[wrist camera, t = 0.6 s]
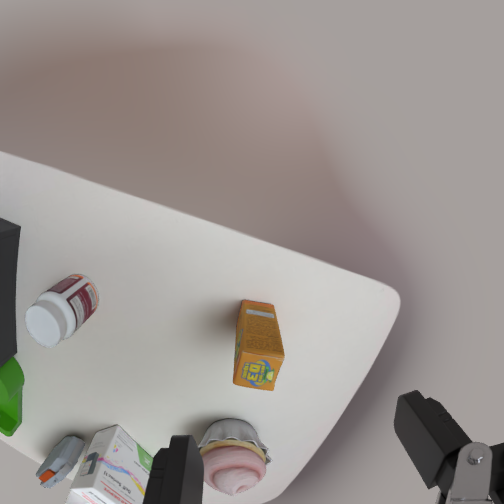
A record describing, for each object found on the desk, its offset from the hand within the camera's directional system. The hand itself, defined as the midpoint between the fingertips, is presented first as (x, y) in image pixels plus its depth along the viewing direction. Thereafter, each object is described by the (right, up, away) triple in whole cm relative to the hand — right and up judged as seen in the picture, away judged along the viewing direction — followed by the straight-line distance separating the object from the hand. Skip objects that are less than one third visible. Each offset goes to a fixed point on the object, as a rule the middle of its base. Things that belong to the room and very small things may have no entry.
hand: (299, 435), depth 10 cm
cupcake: (-4, -16, +24) cm, 29 cm away
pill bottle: (-20, +2, +19) cm, 28 cm away
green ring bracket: (-39, -13, +22) cm, 47 cm away
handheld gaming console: (-31, -24, +24) cm, 46 cm away
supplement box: (-2, +1, +21) cm, 21 cm away
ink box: (-20, -21, +24) cm, 37 cm away
